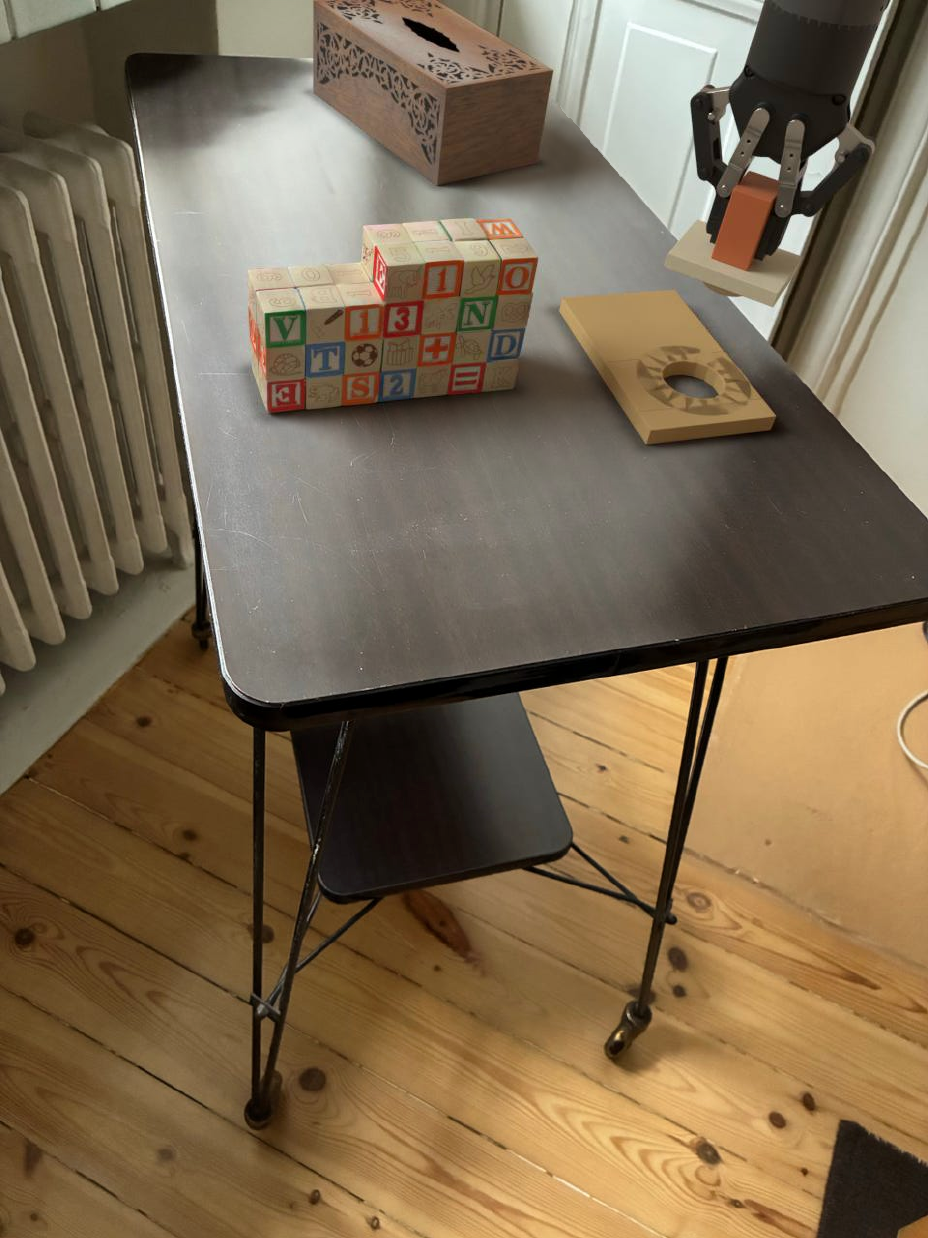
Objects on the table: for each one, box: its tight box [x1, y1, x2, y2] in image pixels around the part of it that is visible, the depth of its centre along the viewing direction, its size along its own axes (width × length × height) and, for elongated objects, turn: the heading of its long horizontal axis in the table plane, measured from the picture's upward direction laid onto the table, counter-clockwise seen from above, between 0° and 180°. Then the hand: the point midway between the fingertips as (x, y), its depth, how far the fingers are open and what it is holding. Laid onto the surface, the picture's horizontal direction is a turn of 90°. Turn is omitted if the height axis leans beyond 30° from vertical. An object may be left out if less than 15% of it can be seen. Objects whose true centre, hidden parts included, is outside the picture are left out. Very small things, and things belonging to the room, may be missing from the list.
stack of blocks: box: [247, 217, 539, 414], centre depth 78 cm, size 21×6×12 cm, turn 109°
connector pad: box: [663, 170, 803, 308], centre depth 76 cm, size 9×7×8 cm
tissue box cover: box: [312, 0, 554, 186], centre depth 113 cm, size 26×14×10 cm, turn 37°
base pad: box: [558, 289, 777, 446], centre depth 88 cm, size 20×12×2 cm, turn 18°
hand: (739, 247), depth 77 cm, fingers closed on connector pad, 3 cm apart
